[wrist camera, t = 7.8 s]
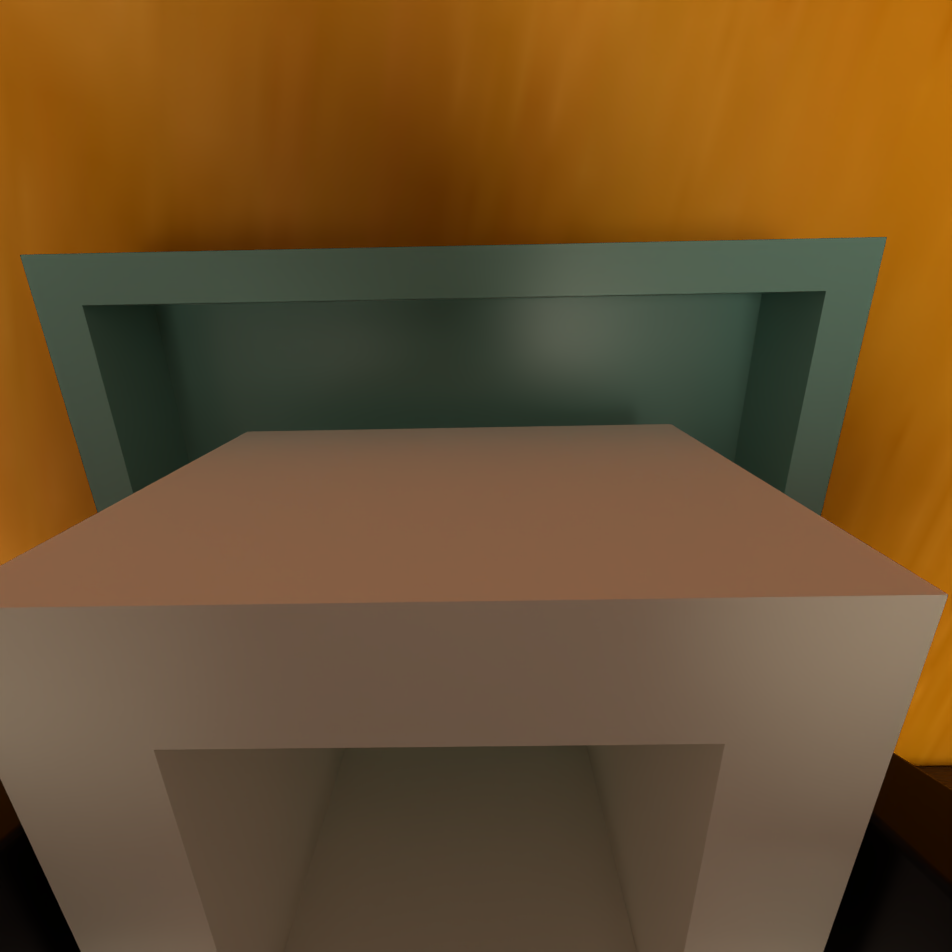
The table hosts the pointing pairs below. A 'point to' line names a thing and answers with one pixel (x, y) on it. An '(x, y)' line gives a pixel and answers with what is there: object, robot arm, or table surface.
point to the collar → (454, 698)
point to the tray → (459, 346)
